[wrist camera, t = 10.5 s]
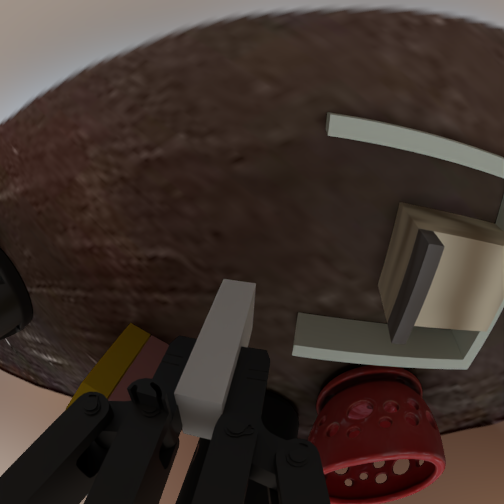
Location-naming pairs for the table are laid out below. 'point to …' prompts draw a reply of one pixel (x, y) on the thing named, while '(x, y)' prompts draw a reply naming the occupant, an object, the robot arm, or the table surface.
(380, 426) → the plant pot
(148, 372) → the alarm clock
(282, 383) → the table surface
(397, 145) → the dock
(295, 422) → the coffee jar
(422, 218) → the beige block
